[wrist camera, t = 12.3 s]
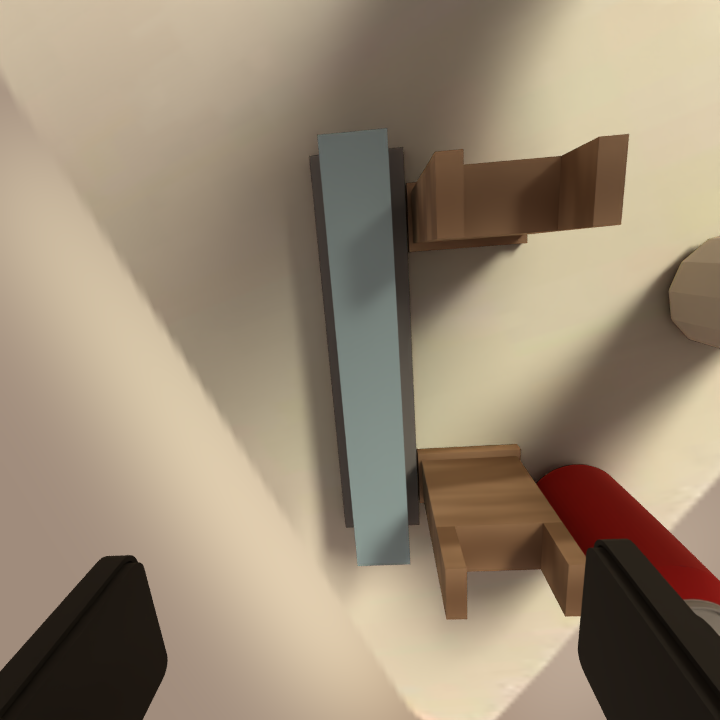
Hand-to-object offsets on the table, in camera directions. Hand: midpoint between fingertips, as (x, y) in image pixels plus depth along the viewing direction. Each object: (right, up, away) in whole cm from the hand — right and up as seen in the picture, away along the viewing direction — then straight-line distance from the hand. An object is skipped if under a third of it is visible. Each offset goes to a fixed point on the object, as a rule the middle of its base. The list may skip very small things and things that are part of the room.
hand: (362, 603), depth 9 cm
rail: (+1, +5, +19) cm, 20 cm away
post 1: (+7, +14, +17) cm, 23 cm away
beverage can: (+16, -5, +22) cm, 27 cm away
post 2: (+8, -3, +21) cm, 23 cm away
